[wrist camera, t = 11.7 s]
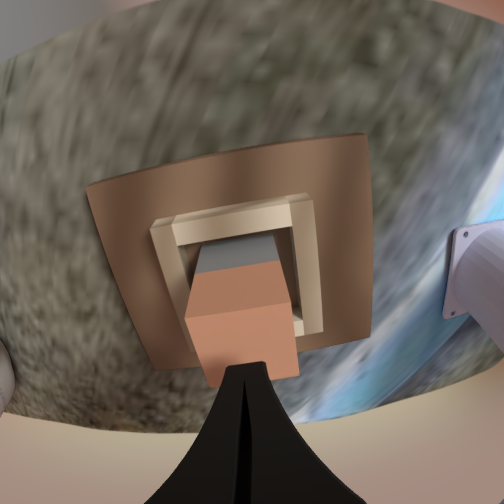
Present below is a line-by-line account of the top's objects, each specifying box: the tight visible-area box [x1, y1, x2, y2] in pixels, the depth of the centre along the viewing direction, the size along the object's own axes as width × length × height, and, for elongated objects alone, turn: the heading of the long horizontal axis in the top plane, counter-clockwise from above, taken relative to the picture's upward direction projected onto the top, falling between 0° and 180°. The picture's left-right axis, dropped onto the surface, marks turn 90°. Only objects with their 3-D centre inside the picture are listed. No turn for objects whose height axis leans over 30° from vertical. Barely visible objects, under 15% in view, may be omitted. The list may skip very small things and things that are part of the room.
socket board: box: [85, 133, 373, 370], centre depth 19 cm, size 16×14×3 cm
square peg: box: [184, 232, 299, 388], centre depth 16 cm, size 4×4×7 cm
